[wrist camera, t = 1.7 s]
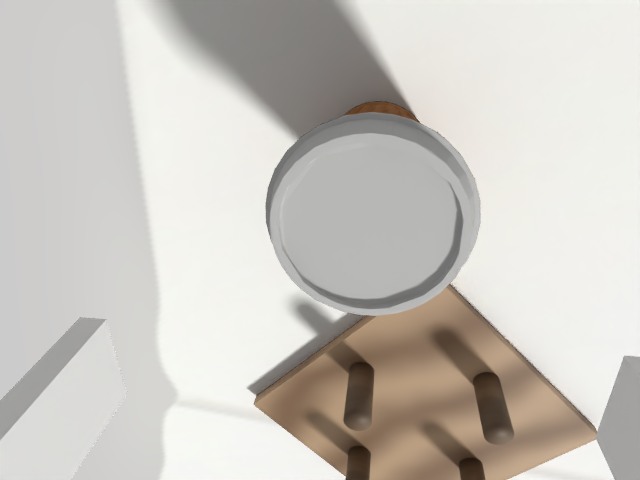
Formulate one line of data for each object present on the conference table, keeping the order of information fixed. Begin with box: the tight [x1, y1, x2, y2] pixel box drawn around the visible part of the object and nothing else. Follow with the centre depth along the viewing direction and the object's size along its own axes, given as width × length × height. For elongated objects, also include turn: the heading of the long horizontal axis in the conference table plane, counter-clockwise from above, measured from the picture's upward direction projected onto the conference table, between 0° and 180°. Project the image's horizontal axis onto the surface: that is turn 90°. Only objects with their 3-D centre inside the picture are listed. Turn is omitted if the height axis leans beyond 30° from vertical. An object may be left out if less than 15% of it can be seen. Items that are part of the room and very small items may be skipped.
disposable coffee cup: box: [266, 101, 480, 316], centre depth 25 cm, size 10×10×12 cm
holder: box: [254, 284, 597, 480], centre depth 38 cm, size 20×20×6 cm
